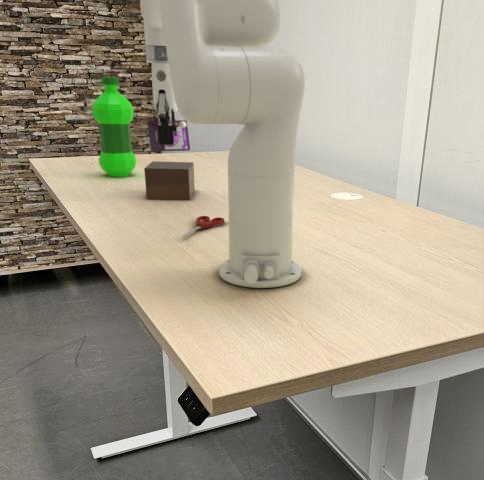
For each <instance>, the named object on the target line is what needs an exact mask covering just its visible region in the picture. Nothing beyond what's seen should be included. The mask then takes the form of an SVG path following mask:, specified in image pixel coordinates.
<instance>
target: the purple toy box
mask: <svg viewBox="0 0 484 480" xmlns="http://www.w3.org/2000/svg"><path fill="white" fill-rule="evenodd" d="M146 124H147V131H148V139H149V146H150V147H149V148H150V152H181V151H182V152H184V151H187V152H188V151H191V145H190V144H191V143H190V136H189V128H188V121H187V120H186V119H182V120H177V119H176V120H175V121H172V126H173V125H174V127H177V128H179V127H180V128H181V131H179V130H177V132H176V130H173V135H174V144H173V145H166V144H160V143H159V129H158V126H159V124H158V120H147V121H146ZM179 133H182V135H180V134H179ZM180 138H182V142H183V144H182V147H181V148H172V147H175V146H177V144H178V143H179V142H180ZM166 147H167V148H168V149H167V148H166ZM186 147H187V148H186ZM169 148H170V149H169Z"/></svg>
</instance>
